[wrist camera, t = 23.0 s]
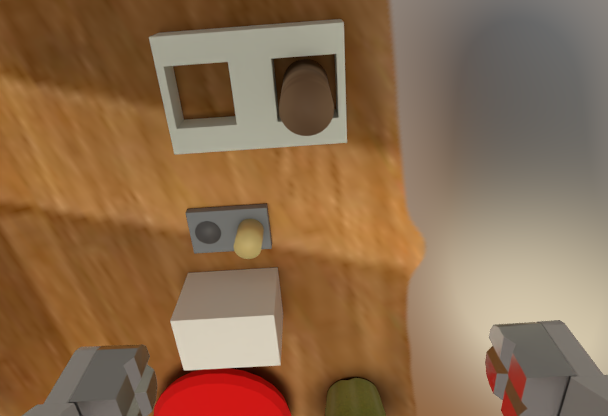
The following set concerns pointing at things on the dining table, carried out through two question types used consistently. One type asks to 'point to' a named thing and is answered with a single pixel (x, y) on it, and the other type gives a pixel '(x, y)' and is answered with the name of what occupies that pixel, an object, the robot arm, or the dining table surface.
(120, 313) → the dining table surface
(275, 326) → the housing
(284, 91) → the peg
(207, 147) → the peg board
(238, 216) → the plate
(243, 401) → the red domed lid
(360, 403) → the plant pot
